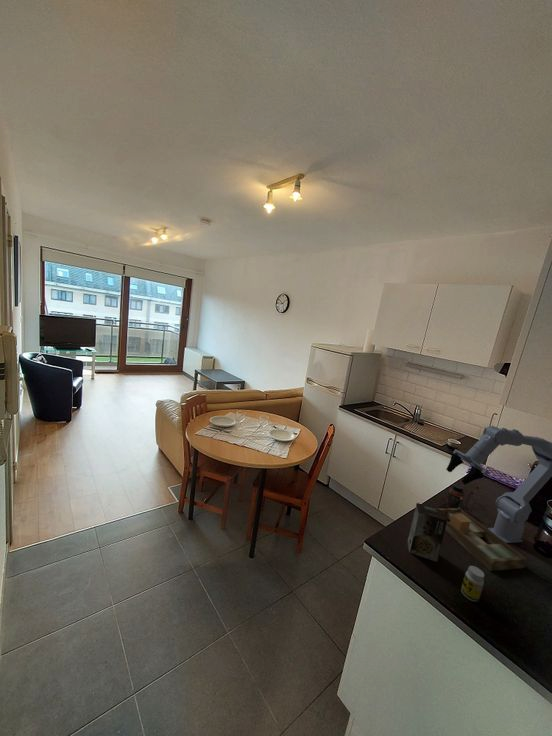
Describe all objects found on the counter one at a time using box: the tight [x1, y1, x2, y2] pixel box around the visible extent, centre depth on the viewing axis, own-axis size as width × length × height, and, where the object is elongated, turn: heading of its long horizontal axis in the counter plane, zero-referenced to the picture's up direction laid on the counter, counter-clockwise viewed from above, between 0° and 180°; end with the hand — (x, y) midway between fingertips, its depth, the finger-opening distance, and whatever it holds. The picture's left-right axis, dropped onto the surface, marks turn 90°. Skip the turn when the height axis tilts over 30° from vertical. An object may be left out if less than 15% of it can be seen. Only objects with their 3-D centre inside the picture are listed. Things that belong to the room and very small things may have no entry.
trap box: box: [437, 507, 528, 572], centre depth 114 cm, size 16×28×4 cm, turn 14°
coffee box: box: [407, 502, 448, 563], centre depth 102 cm, size 9×6×16 cm
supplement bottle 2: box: [460, 565, 485, 602], centre depth 87 cm, size 5×5×8 cm
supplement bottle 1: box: [445, 483, 465, 509], centre depth 134 cm, size 6×6×11 cm
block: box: [449, 514, 470, 531], centre depth 116 cm, size 4×4×4 cm
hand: (455, 476), depth 113 cm, fingers open, 7 cm apart
